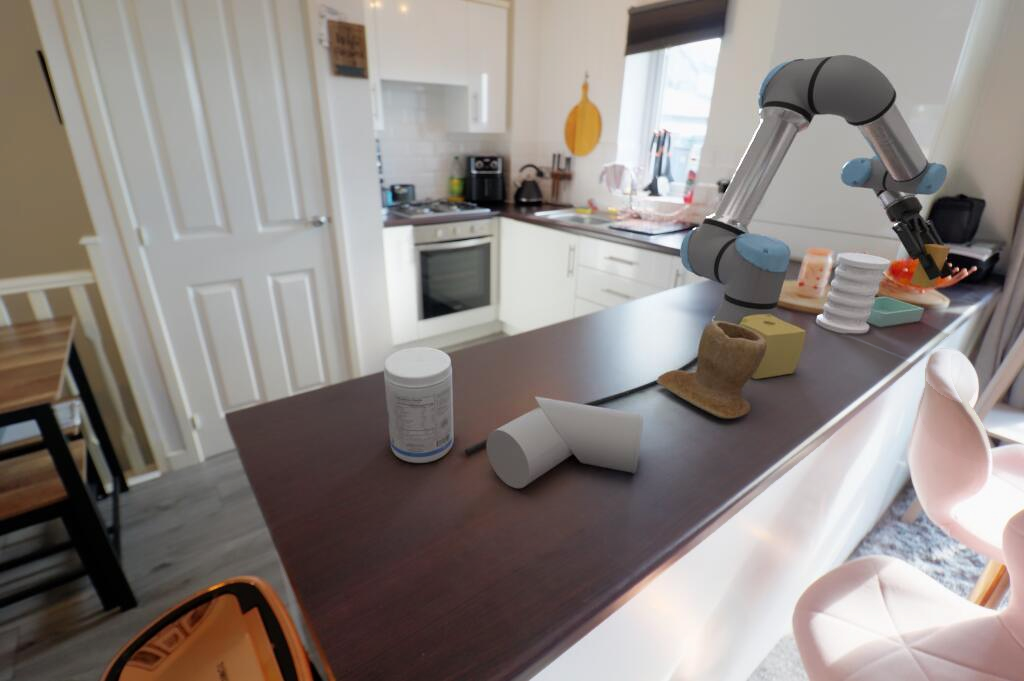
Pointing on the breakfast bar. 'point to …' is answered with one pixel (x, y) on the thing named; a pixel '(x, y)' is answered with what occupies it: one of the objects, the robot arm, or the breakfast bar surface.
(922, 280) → the mustard block
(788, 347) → the cheese
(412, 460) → the supplement tub
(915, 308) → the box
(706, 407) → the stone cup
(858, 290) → the decorative container
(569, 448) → the l-shaped cylinder
